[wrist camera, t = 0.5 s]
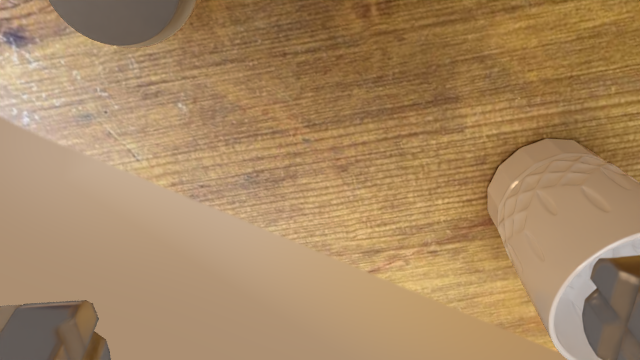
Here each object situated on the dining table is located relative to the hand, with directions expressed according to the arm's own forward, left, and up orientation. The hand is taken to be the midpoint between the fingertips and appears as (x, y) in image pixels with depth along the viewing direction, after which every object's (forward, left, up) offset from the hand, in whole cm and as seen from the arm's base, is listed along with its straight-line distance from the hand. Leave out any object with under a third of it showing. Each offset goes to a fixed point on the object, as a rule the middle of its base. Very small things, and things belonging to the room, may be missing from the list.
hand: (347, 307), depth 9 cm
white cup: (+12, +12, -20) cm, 26 cm away
